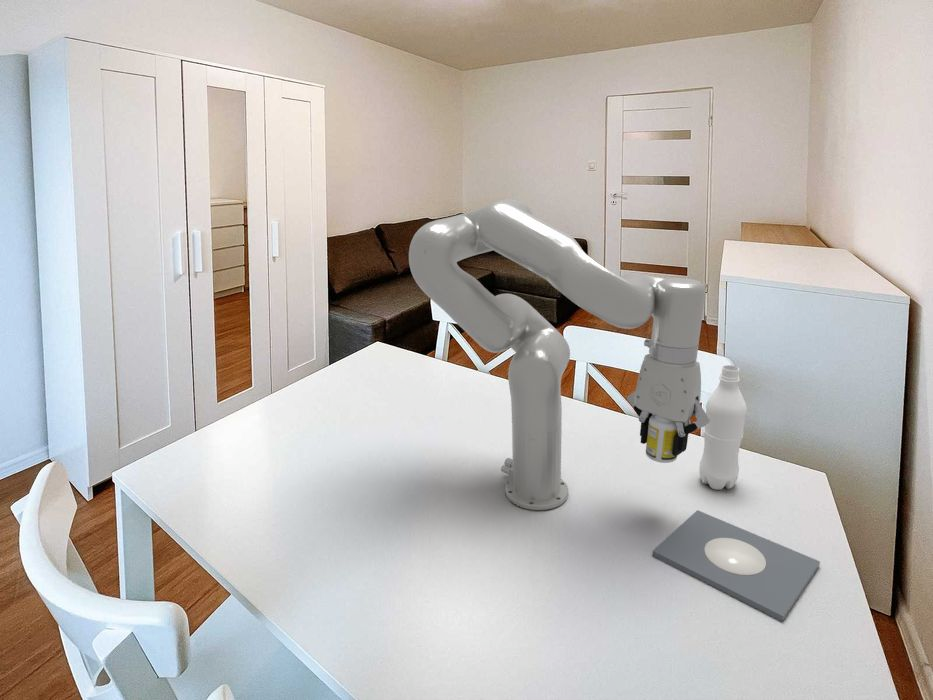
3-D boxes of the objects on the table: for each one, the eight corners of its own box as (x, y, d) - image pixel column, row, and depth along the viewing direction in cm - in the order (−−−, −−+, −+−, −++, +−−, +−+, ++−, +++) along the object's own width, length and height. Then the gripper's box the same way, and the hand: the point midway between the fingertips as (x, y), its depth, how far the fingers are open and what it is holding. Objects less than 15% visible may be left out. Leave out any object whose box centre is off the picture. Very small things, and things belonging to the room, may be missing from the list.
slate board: (652, 555, 91) (652, 550, 91) (696, 514, 101) (697, 509, 101) (782, 621, 77) (783, 615, 77) (819, 566, 87) (820, 560, 87)
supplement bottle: (679, 453, 100) (686, 404, 97) (672, 467, 95) (679, 416, 92) (649, 446, 103) (655, 398, 99) (641, 458, 98) (647, 408, 95)
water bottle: (741, 494, 107) (757, 375, 99) (702, 491, 108) (714, 373, 101) (731, 475, 114) (746, 362, 106) (695, 473, 115) (706, 361, 107)
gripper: (617, 345, 96) (609, 437, 102) (713, 370, 84) (698, 473, 90) (639, 336, 101) (630, 425, 107) (734, 359, 89) (718, 457, 95)
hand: (662, 446), depth 98 cm, fingers closed on supplement bottle, 5 cm apart
